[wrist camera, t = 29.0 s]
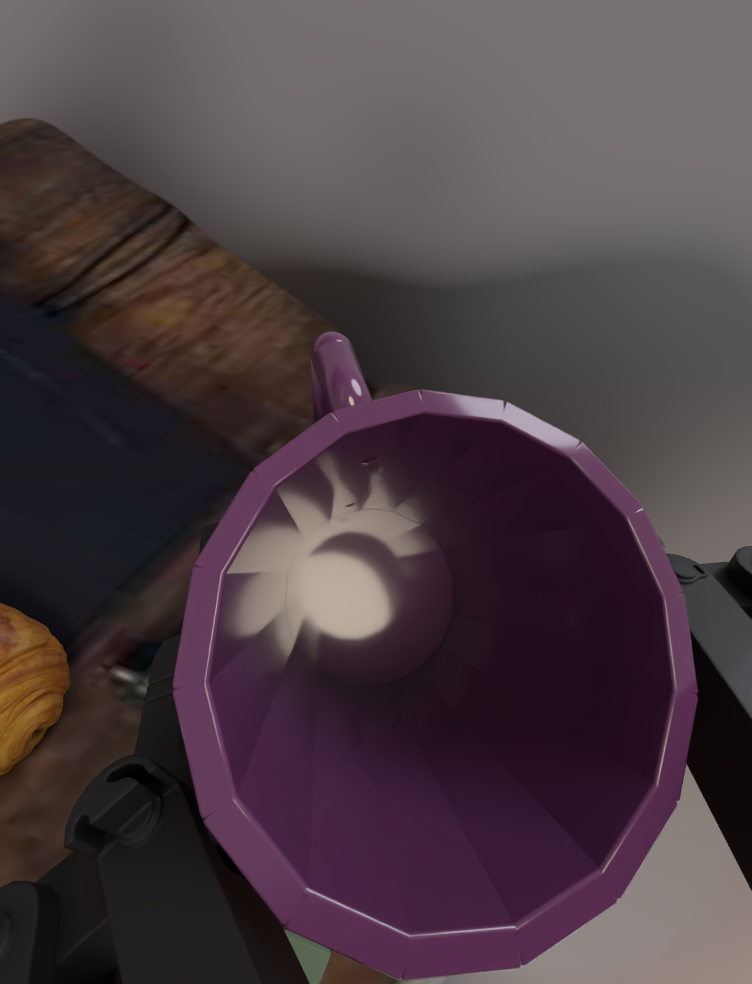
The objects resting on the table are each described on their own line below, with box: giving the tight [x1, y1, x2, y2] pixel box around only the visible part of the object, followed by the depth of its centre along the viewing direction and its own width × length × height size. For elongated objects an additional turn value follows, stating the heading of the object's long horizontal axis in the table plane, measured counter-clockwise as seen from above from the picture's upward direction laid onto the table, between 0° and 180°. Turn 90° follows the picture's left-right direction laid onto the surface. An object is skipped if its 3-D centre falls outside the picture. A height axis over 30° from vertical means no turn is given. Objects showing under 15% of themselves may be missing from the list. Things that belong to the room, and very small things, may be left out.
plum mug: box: [172, 331, 698, 981], centre depth 11 cm, size 12×9×11 cm
